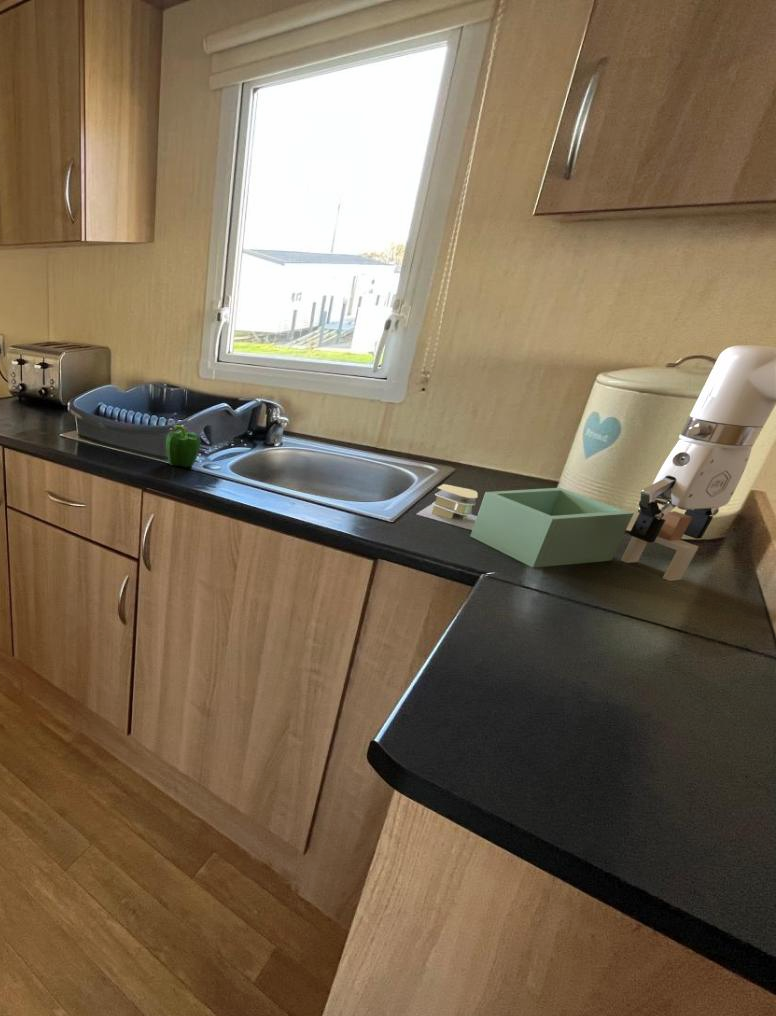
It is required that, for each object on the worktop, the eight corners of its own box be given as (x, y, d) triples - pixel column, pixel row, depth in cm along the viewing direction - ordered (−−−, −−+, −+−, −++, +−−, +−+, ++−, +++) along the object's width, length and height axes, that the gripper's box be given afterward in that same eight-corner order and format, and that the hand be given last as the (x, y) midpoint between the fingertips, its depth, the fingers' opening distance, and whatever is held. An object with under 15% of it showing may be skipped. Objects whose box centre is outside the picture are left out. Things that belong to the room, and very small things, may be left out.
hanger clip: (631, 559, 94) (657, 505, 90) (680, 580, 88) (711, 523, 84) (620, 560, 94) (646, 506, 90) (669, 581, 87) (699, 524, 83)
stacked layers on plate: (415, 514, 111) (423, 488, 109) (431, 504, 116) (439, 479, 114) (472, 530, 104) (481, 503, 102) (486, 518, 110) (495, 493, 107)
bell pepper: (200, 462, 140) (204, 423, 136) (194, 471, 133) (199, 431, 129) (168, 458, 143) (171, 420, 139) (161, 467, 136) (164, 427, 132)
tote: (542, 530, 105) (559, 487, 101) (611, 560, 94) (634, 513, 90) (469, 536, 102) (485, 491, 98) (532, 567, 91) (552, 519, 87)
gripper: (705, 441, 76) (649, 551, 84) (795, 438, 80) (734, 543, 87) (645, 428, 83) (597, 530, 90) (730, 425, 86) (678, 524, 93)
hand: (664, 536), depth 88 cm, fingers open, 9 cm apart
